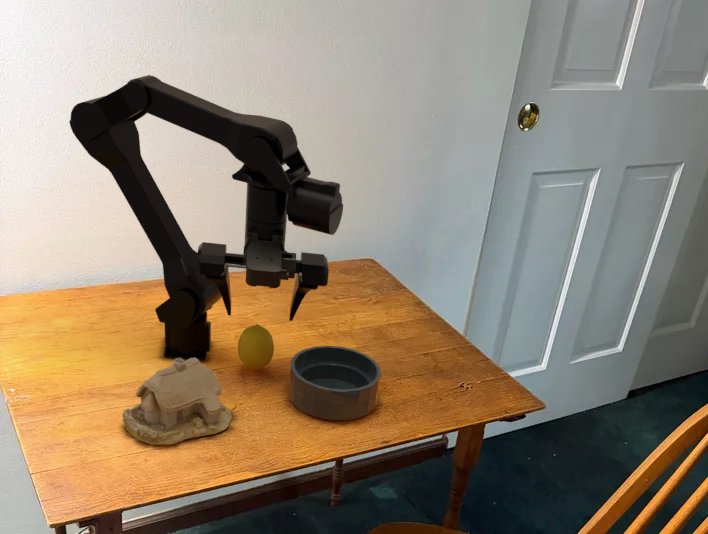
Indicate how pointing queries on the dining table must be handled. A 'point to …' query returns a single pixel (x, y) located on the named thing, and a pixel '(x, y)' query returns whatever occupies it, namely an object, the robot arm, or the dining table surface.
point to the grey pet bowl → (334, 382)
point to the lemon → (255, 347)
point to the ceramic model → (178, 405)
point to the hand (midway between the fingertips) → (260, 317)
